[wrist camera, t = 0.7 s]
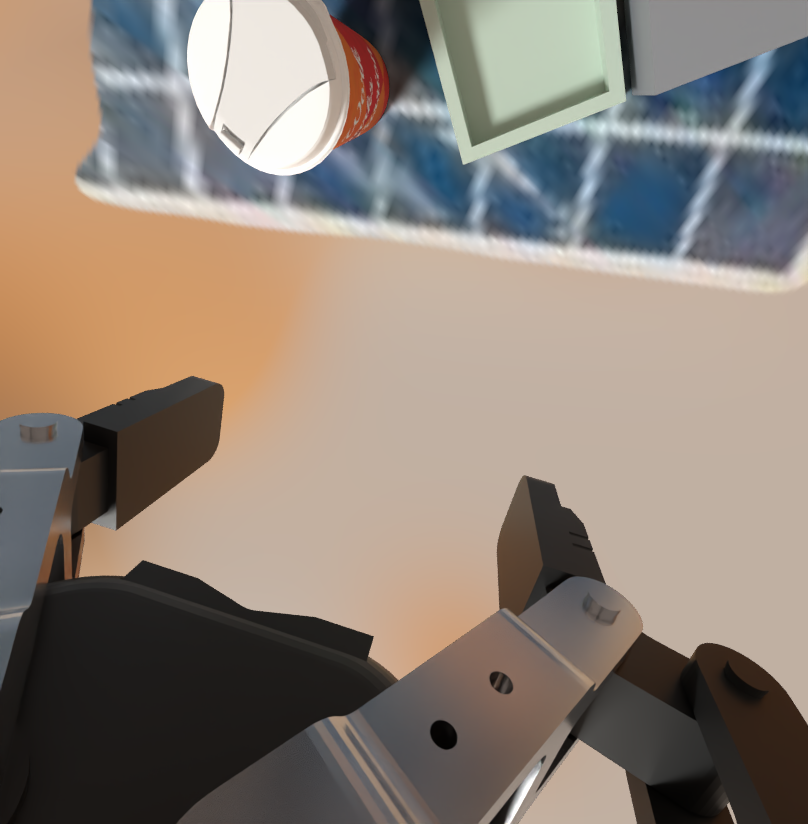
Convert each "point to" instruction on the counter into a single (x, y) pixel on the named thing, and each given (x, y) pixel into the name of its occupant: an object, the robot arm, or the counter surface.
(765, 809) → the robot arm
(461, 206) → the counter surface
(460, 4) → the tray
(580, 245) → the counter surface
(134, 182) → the counter surface
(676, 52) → the gray rectangular block
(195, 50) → the paper cup
